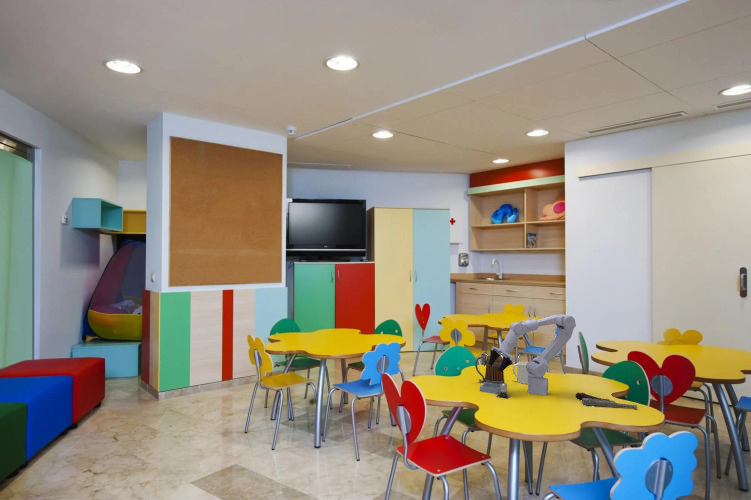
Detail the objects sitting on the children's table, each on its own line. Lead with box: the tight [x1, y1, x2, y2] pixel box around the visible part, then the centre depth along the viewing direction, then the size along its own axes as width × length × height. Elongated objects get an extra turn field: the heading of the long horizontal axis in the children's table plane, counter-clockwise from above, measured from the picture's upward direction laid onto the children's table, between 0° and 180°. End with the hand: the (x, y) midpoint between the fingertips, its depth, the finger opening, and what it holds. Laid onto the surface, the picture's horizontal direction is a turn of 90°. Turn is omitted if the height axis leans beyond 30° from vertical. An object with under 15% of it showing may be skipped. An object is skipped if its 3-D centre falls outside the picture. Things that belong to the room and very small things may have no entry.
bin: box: [479, 382, 500, 395], centre depth 229 cm, size 9×9×4 cm
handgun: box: [575, 391, 638, 409], centre depth 215 cm, size 3×24×15 cm
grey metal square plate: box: [495, 394, 512, 400], centre depth 219 cm, size 6×6×1 cm
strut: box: [498, 383, 509, 399], centre depth 219 cm, size 4×4×6 cm
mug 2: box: [512, 361, 529, 386], centre depth 252 cm, size 13×10×10 cm
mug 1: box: [474, 355, 505, 385], centre depth 245 cm, size 16×11×15 cm
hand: (494, 368), depth 226 cm, fingers open, 7 cm apart
